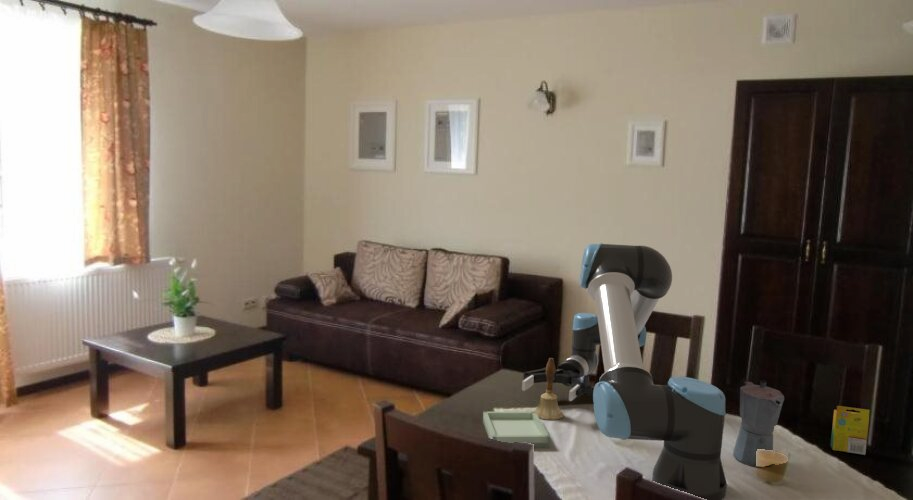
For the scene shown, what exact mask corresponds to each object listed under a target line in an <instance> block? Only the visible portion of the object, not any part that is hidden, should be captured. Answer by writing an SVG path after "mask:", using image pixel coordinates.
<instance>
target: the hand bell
mask: <svg viewBox="0 0 913 500" xmlns="http://www.w3.org/2000/svg"><path fill="white" fill-rule="evenodd" d="M545 366H546V377H547V382H546V390H545V393H542V394H541V395H540V400H539V404H538V406H537V407H536V408H535V409H533V412H536V414H537V416H538V418H539V419H540V420H541V419H542V420H546V421H555V420H560V419H562V418H563V417H564V413H563V412H562V411H561V409H560V407H559V404H558V403H559V402H558V396H557V395H556V394H554V393H553V390H554V389H553V387H554V386H553V380H554V379H553V378H554V375H555V370H556V365H555V360H554V358H553V357H549V358H548V361H547V363H546V365H545Z"/></svg>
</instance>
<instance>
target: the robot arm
mask: <svg viewBox="0 0 913 500" xmlns="http://www.w3.org/2000/svg"><path fill="white" fill-rule="evenodd" d="M580 267H581V268H580V274H579V286H580V287H581V288H583V289H587V292H588V295H589V297H590V298H591V299H593V300H594V301H595V307H596V309H595V310H596V314H595V313H589V312H578V313H576V314H574V316H573V323H572V333H571V334H572V337H571V339H572V340H571V352H570V356H569V357H568V358H566V359H565V360H564V361H562V362H561V363H559V365H558V366H557V368H555V375H554V378H553V383H554V384H556V383H558V384H562V385H564V386H566V387H570V388H571V389H570V390H569V391H568V401H569V402H572V401H573V400H575V399H576V398H577V397H581V396H582V395H585V394H586V395H588V396H591V395H592V401H593V413H594V417H595V421H596V425H597V426H598V429H599V431H600V432H601V433H602V434H603V435H604V436H605V437H607V438H609V439H612V438H613V439H620V440H623V441H626V440H639V441H640V440H642V441H660V442H661V441H663V447H662V448H661V449H662V450H661V451H660V454H659V456H658V457H657V460H656V462H655V465H654V467H653V469H652V476H651V477H652V482H653V481H655V482H657V483H660V484H662V485H666V486H669V487H671V488H674V489H678V490H680V491H684V492H687V493H690V494H693V495H695V496H698V497H701V498H704V499H707V500H724V499H725V497H726V496H727V489H728V488H727V487H728V484H727V478H726V475H725V472H724V467H723V464H722V459H721V455H722V454H721V453H722V447H723V446H722V444H723V437H724V436H723V435H724V426H725V417H726V415H727V413H726V396H725V393H724V392H723V391H722V390H721V389H719V388H718V387H717V386H715V385H713V384H711V383H708V382H706V381H703V380H700V379H696V378H693V377H689V376H688V377H686V376H679V375H678V376H677V375H676V376H672V377H670V378H669V380H668V381H667V384H665V385H664V384H654V380H653V375H652V374H651V372H650V371H649V370H647V369H645V368H644V365H643V359H642V354H641V348H640V347H643V346H644V345H645V344H646V339H647V329H646V323H647V322H648V320H649V318H650V316H651V315H652V313H653V311H654V309H655V307H656V306H657V304H658V302H659V299H662V298H663V297H665V296H666V295H667V294H668V292H669V290H670V288H671V286H672V281H673V274H672V273H673V272H672V268H671V266H670V264H669V262H668V260H667V259H666V257H665V256H664V255H663V253H662V254H661V253H660V251H658V250H657V249H654V248H652V247H651V246H646V245H630V244H629V245H628V244H611V243H610V244H609V243H603V242H601V243H591V244H587V245H586V246H585V248H584V250H583V254H582V261H581V266H580ZM597 346H600V347H601V354H602V363H603V369H604V372H603V373H602V374H601V376H600V377H599V381H597V383H595V385H594V387H593V385H592V384H591V382H590V374H591V373H593V372H594V371H595V370H596V368H597V367H598V365H599V357H598V356H599V355H598V354H597V351H596V350H597ZM522 377H523V378H522V381H521V391H523V392H525V391H527V390H528V389H529V388H531V387H532V386H534V384H538V383H547V377H546V367H543V368H539V369H534V370H529V371H524V372H523V376H522ZM592 387H593V390H592Z"/></svg>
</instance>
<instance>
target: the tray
mask: <svg viewBox="0 0 913 500" xmlns="http://www.w3.org/2000/svg"><path fill="white" fill-rule="evenodd" d="M482 424H483V425H484V430H485V432H486V435H487V438H488V439H489V438H490V439H493V440H497V441H501V442H508V443H514V442H527V443H531V444H534V448H535V449H536V448H538V449H539V448H549V447H550V435H549V433H548V431H547V429H546V428H545V426H544V424H543V423H542V421H541V418H538V416H537V414H536V412H534V411H483V412H482Z"/></svg>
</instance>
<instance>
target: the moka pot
mask: <svg viewBox="0 0 913 500" xmlns="http://www.w3.org/2000/svg"><path fill="white" fill-rule="evenodd" d="M767 383H768V382H767V381H766V380H762V379H761V380H759V384H754V382H752V381H749V380H747V378H745V377H743V378H742V379H741V380H740V381H739V382H738V383H737V399H738V407H739V409H738V410H739V411H738V413H739V415H740V419H741V421H740V427H739V431H738V434H737V437H736V441H735V445H734V448H733V454H732V455H733V457H734V458H735V459H736V460H738V462H740V463H743V464H744V465H747V466H751V467H754V468H756V467H755V466H756V451H757V449H765V450H773V451H774V431H775V427H776V426H777V425H778V421H779V418H780V414H781V411H782V407H783V403H784V401H785V396H784V394H783V393H782V392H781V390H778V389H775V388H773V387H770V386H767Z"/></svg>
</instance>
